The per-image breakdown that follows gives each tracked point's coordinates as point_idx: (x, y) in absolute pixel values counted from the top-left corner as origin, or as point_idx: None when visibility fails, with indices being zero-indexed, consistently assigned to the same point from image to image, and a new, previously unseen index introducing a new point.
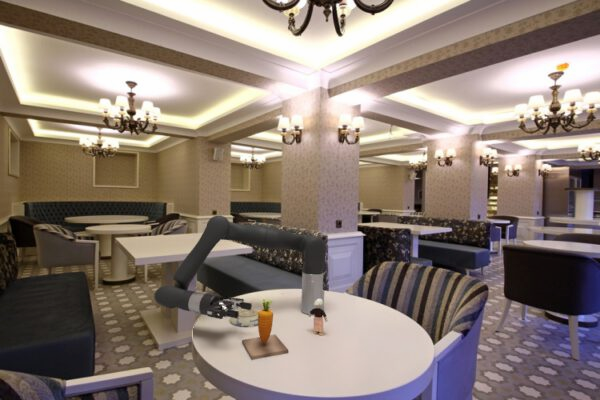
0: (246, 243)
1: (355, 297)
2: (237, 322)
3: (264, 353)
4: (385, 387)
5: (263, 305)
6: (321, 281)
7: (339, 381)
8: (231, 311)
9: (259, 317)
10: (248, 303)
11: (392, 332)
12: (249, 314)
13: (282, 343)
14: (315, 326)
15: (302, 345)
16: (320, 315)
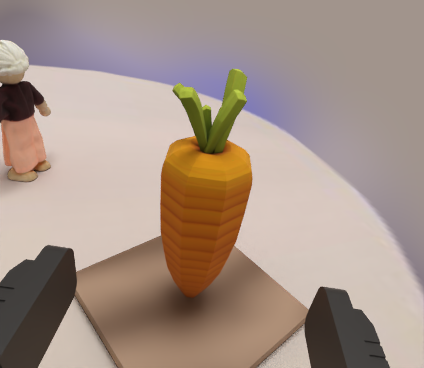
0: None
1: None
2: None
3: (263, 275)
4: (255, 117)
5: (230, 120)
6: None
7: (275, 150)
8: (365, 361)
9: (243, 196)
10: (58, 263)
11: (36, 84)
12: None
13: (159, 237)
14: (26, 155)
15: (134, 200)
16: (33, 104)
